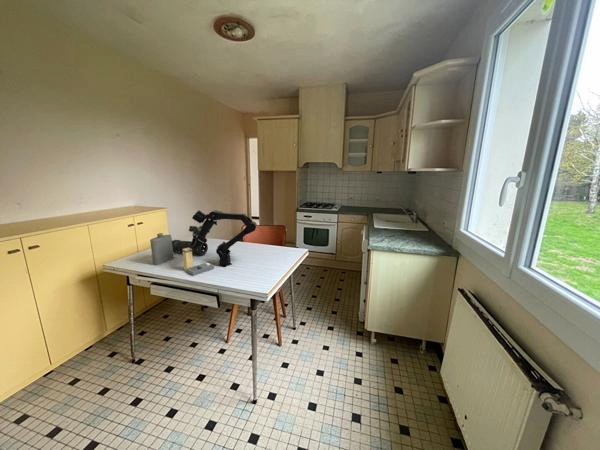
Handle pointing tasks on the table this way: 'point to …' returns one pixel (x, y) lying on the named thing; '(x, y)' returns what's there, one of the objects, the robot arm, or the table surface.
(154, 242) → the flask
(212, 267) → the bar
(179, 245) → the muzzle brake
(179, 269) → the table surface
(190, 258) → the plug
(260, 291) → the table surface
